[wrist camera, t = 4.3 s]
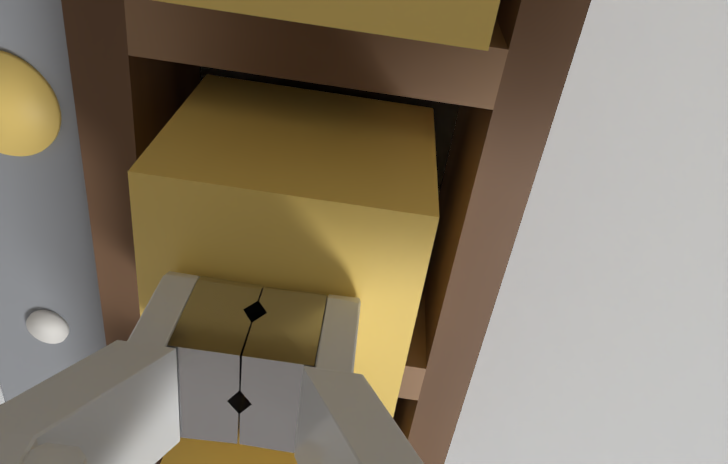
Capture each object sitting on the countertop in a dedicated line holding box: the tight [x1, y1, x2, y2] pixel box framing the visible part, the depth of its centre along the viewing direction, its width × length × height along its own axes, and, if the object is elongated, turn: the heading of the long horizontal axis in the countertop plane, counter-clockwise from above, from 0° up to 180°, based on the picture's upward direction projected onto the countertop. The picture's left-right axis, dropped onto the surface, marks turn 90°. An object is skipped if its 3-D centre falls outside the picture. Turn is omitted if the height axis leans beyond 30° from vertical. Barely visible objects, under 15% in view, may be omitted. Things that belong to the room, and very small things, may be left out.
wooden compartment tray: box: [61, 0, 591, 464], centre depth 12 cm, size 8×29×4 cm, turn 173°
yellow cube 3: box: [128, 74, 440, 418], centre depth 12 cm, size 4×4×4 cm
